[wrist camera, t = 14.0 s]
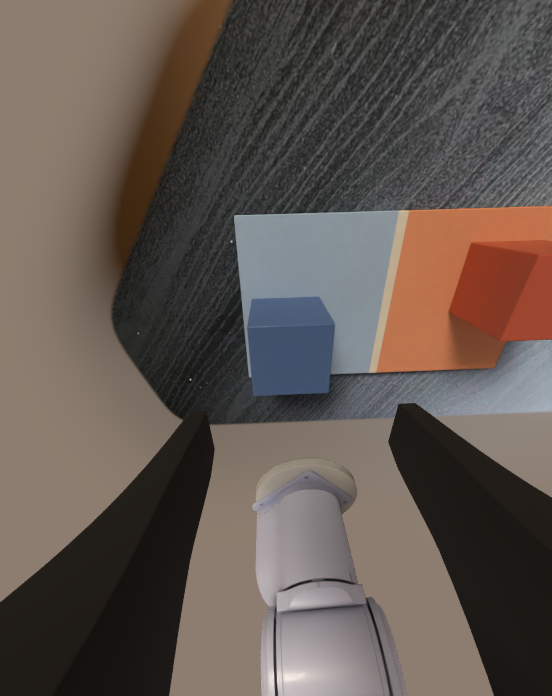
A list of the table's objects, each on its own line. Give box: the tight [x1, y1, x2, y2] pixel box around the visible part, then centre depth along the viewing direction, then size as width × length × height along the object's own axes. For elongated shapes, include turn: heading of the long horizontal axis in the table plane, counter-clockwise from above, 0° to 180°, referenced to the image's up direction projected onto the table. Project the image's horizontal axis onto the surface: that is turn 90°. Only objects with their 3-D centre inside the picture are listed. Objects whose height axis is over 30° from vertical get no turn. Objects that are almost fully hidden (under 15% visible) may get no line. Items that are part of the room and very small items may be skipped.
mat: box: [234, 206, 552, 377], centre depth 17 cm, size 19×11×1 cm, turn 91°
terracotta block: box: [449, 240, 552, 341], centre depth 14 cm, size 4×4×4 cm
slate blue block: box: [247, 297, 335, 396], centre depth 16 cm, size 4×4×4 cm
